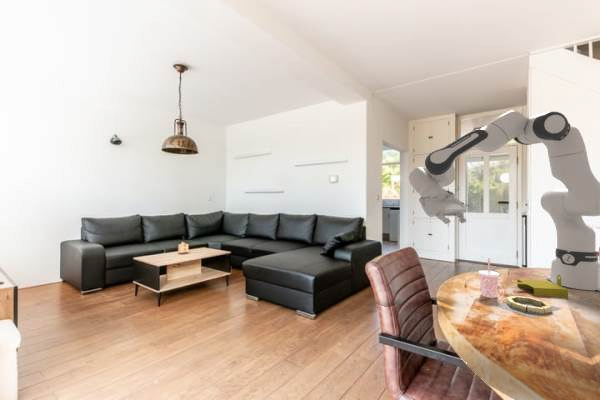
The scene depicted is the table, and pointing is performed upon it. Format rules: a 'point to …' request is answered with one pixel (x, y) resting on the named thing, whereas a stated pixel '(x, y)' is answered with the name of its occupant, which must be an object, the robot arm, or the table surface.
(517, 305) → the socket
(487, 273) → the beverage cup
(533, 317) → the board
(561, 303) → the table surface
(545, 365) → the table surface
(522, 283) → the bracket
